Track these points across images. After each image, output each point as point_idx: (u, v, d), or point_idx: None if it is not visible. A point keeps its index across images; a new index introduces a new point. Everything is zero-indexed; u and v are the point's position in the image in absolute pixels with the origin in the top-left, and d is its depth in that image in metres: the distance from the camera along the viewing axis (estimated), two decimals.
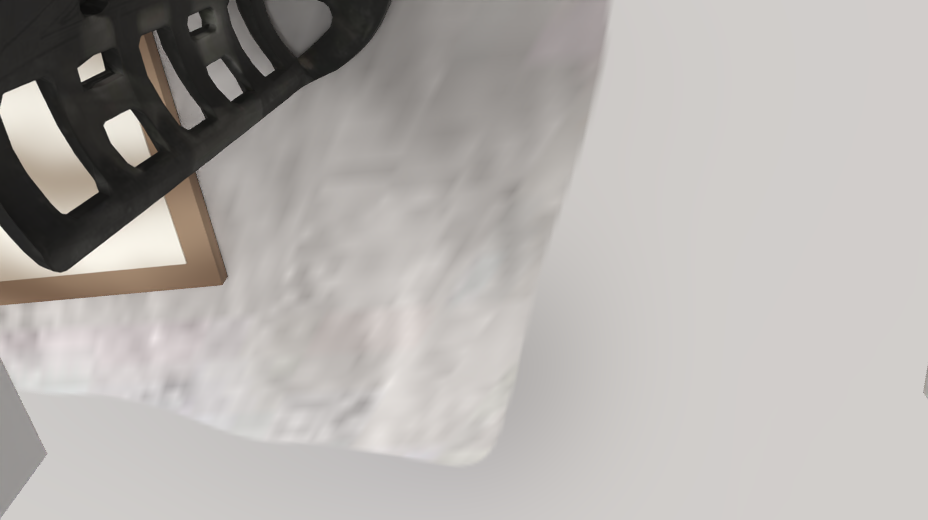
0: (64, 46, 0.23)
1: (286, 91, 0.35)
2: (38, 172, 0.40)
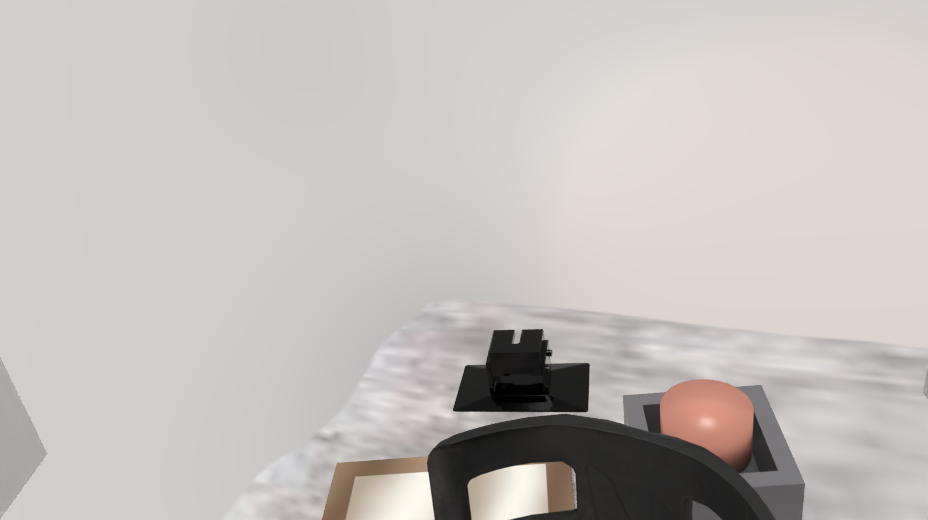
0: None
1: None
2: None
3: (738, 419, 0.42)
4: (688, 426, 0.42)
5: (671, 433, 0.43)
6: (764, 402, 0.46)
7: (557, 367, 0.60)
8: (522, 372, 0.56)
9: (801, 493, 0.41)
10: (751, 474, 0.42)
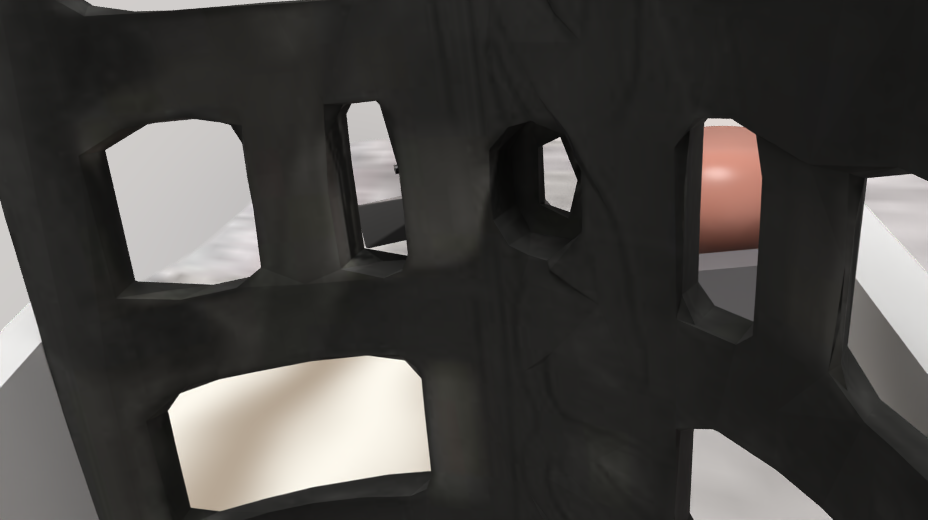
0: (433, 55, 0.09)
1: None
2: (272, 414, 0.27)
3: None
4: None
5: None
6: None
7: None
8: None
9: None
10: None
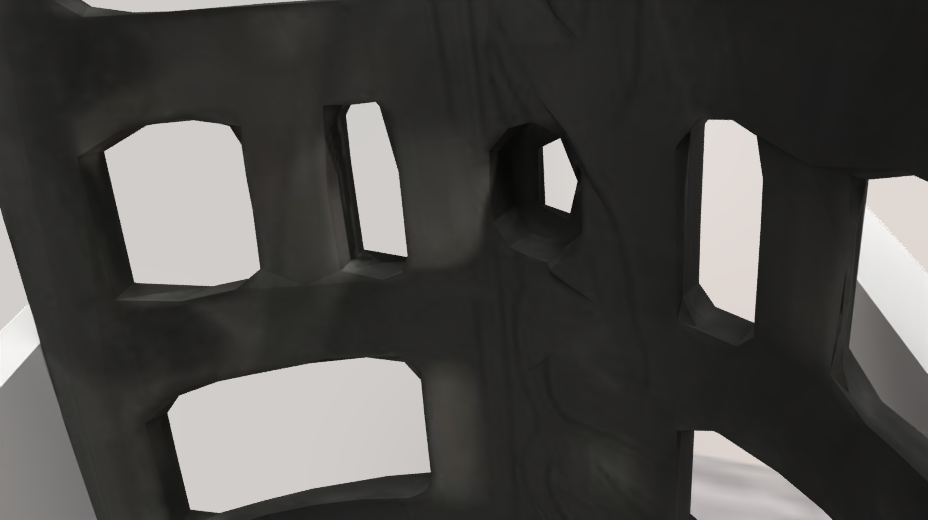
0: (433, 56, 0.09)
1: None
2: None
3: None
4: None
5: None
6: None
7: None
8: None
9: None
10: None
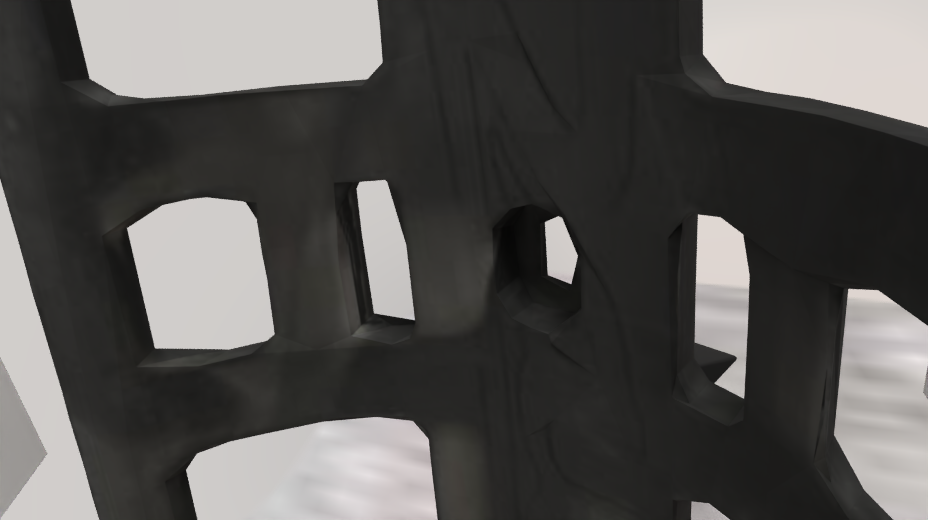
0: (438, 140, 0.10)
1: None
2: None
3: None
4: None
5: None
6: None
7: None
8: None
9: None
10: None
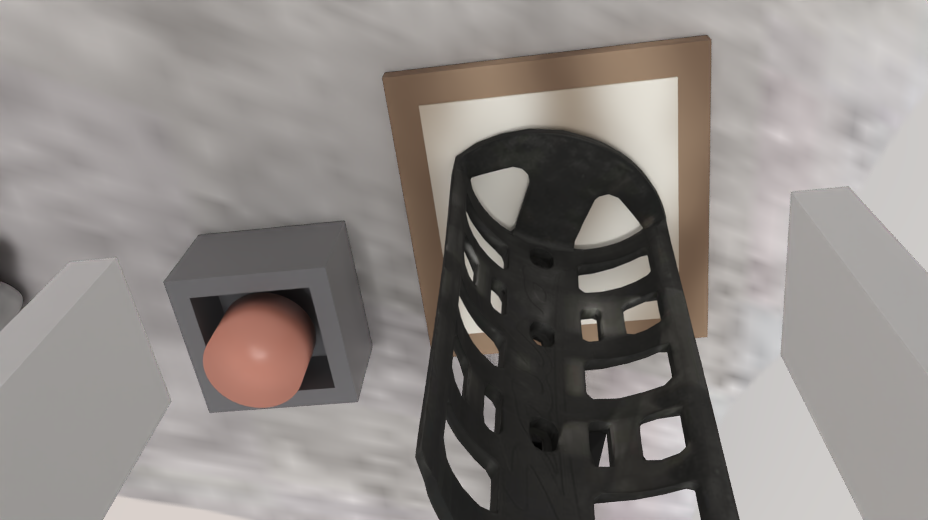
0: (575, 474, 0.29)
1: (667, 252, 0.38)
2: None
3: (217, 349, 0.38)
4: (270, 341, 0.38)
5: (291, 336, 0.38)
6: (205, 388, 0.42)
7: None
8: None
9: (170, 275, 0.40)
10: (215, 293, 0.39)
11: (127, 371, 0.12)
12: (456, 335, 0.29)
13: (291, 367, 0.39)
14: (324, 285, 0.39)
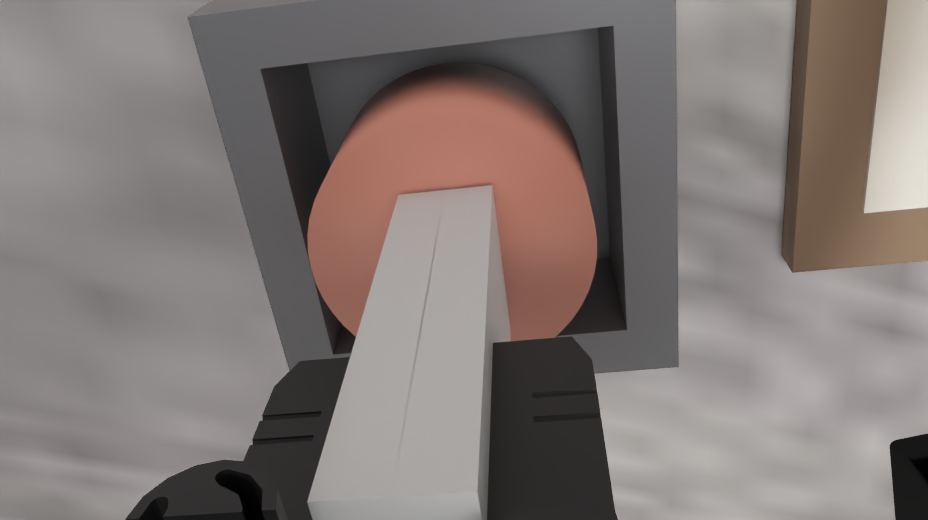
0: None
1: None
2: None
3: (354, 198, 0.13)
4: (515, 166, 0.13)
5: (567, 158, 0.13)
6: (290, 334, 0.17)
7: None
8: None
9: (207, 8, 0.14)
10: (336, 51, 0.14)
11: None
12: None
13: (564, 251, 0.13)
14: (660, 16, 0.13)
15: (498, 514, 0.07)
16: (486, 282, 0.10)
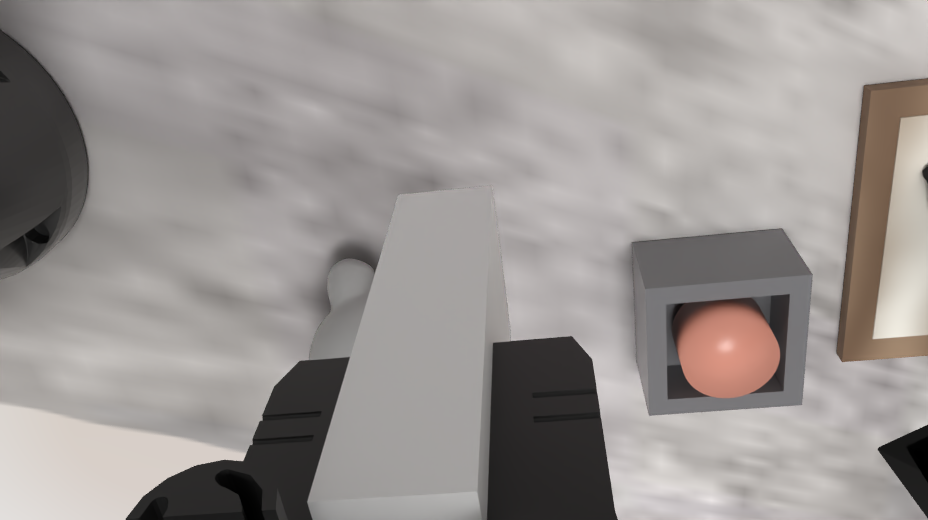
0: None
1: None
2: None
3: (702, 343, 0.40)
4: (756, 334, 0.40)
5: (770, 329, 0.40)
6: (652, 392, 0.43)
7: None
8: None
9: (645, 282, 0.41)
10: (693, 299, 0.40)
11: None
12: None
13: (768, 359, 0.41)
14: (806, 291, 0.40)
15: (498, 514, 0.07)
16: (486, 282, 0.10)
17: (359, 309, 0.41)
